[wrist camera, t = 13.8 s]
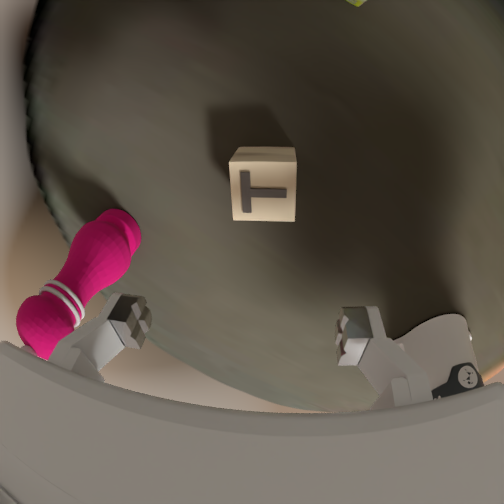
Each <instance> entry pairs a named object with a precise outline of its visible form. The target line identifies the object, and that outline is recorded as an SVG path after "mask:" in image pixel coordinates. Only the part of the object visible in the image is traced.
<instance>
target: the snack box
mask: <svg viewBox="0 0 504 504" xmlns="http://www.w3.org/2000/svg"><path fill="white" fill-rule="evenodd" d="M345 1H347V2H349V3H351V4H353V5H355V6H357V7H358V6H361V5H362V4H363V3H365V2H366V1H367V0H345Z"/></svg>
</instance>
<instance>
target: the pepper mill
mask: <svg viewBox="0 0 504 504" xmlns="http://www.w3.org/2000/svg"><path fill="white" fill-rule="evenodd" d="M140 243H141V233H140V229H139V226H138V225H137V223H136V221H135V220H134V219H133V218H132V217H131V216H130V215H129V214H128V213H126V212H125V211H122V210H119V209H109V210H106V211H104V212H103V213H102V214H101V215H100V216H99V217H98V218H97V219H96V220H95V221H91V222H88V223H86V224H85V225H84V226H83V227H82V228H81V229H80V230H79V231H78V233H77V234H76V236H75V238H74V240H73V242H72V244H71V248H70V251H69V255H68V258H67V261H66V262H65V264H64V266H63V268H62V270H61V271H60V272H59V274H58V275H57V276H56V277H55V278H54V279H53V280H48V281H46V282H45V284H44V286H43V287H42V288H41V289H40V290H39V295H38V296H37V295H36V296H31V297H29V298H27V299H26V300H25V301H24V302H23V303H22V305H21V307H20V308H19V310H18V314H17V318H16V326H17V330H18V333H19V336H20V338H21V340H22V341H23V342H24V344H25V346H23V347H21V349H23V350H25V351H27V352H29V353H31V354H33V355H35V356H39V357H41V358H43V359H46V360H48V359H49V357H50V355H51V354H52V352H53V350H54V348H55V347H56V345H57V343H58V342H59V341H60V340H61V339H63V338H64V337H66V336H67V335H69V334H70V333H72V332H73V331H74V327H77V326H78V325H79V324H80V320H81V319H83V318H84V315H85V310H84V308H85V306H86V304H87V302H88V301H89V300H90V299H91V298H92V296H93V295H95V294H96V293H97V292H98V291H100V290H101V289H103V288H105V287H107V286H109V285H111V284H113V283H114V282H116V281H117V280H118V279H120V278H121V277H122V276H123V274H124V273H125V272H126V271H127V270H128V268H129V266H130V263H131V256H132V255H133V254H134V252H135V251H136V250H137V248H138V247H139V245H140Z"/></svg>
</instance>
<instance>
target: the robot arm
mask: <svg viewBox="0 0 504 504" xmlns="http://www.w3.org/2000/svg"><path fill="white" fill-rule="evenodd" d="M146 303H147V302H146V300H145V297H143V296H137V295H130V294H122V293H113V294H112V295H111V296H110V298H109V300H108V301H107V303H106V304H105V306H104V308H103V309H102V311H101V312H100V314H99V316H98V317H97V318H96V317H95V318H93V319H91V320H90V321H89V322H87V323H85V324H84V325H82V326H81V327H79V328H78V329H76V330H75V331H73V332H72V333H70V334H69V335H67V336H66V337H64V338H63V339H61V340H60V341H59V342H58V343H57V345H56V347H55V348H54V350H53V352H52V354H51V355H50V357H49V359H48V361H46V360H44V359H42V358H40V357H37V356H35V355H33V354H31V353H29V352H27V351H25V350H23V349H21V348H19V347H17V346H15V345H13V344H12V343H10V342H8V341H1V342H0V504H504V384H502V383H500V382H496V383H492V384H489V385H486V386H484V384H483V381H482V378H481V375H480V374H479V373H478V366H477V362H476V358H475V354H474V350H473V347H472V343H471V340H472V336H471V333H470V332H469V331H468V327H467V321H466V319H465V318H464V317H463V316H461V315H458V314H446V315H442V316H438V317H435V318H433V319H430V320H428V321H426V322H424V323H422V324H420V325H419V326H417V327H416V328H414V329H413V330H411V331H410V332H409V333H407V334H406V335H404V336H403V337H400V338H398V339H396V340H392V339H391V338H387V337H386V333H385V330H384V326H383V322H382V319H381V315H380V312H379V309H378V307H377V306H365V307H364V306H361V307H341V308H340V311H339V319H338V320H337V322H336V326H335V343H336V344H337V345H338V348H337V351H336V353H337V363H338V365H358V367H359V369H360V370H361V371H362V373H363V374H364V375H365V377H366V378H367V380H368V381H369V382H370V384H371V385H372V386H373V388H374V389H375V390H376V392H377V393H378V394H379V397H378V399H377V400H376V401H375V402H374V404H373V405H372V406H371V407H370V410H366V411H354V412H339V413H312V414H311V413H301V414H300V413H269V412H254V411H242V410H232V409H224V408H216V407H209V406H202V405H196V404H190V403H184V402H179V401H174V400H169V399H164V398H159V397H155V396H151V395H147V394H143V393H139V392H135V391H131V390H128V389H124V388H121V387H117V386H114V385H111V384H107V383H104V378H103V377H102V376H101V374H100V373H99V372H98V371H99V370H100V369H101V368H102V367H104V366H105V365H106V364H107V363H108V362H109V361H110V360H111V359H112V358H114V357H115V356H116V355H117V354H118V353H119V352H120V351H121V350H122V349H124V348H125V347H131V348H136V349H141V347H142V345H143V342H144V340H145V338H146V337H145V334H144V333H145V332H147V331H148V330H149V329H150V326H151V322H152V315H151V312H150V309H148V308H147V307H146V306H145V305H146ZM124 346H125V347H124Z"/></svg>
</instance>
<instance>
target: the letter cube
mask: <svg viewBox="0 0 504 504" xmlns="http://www.w3.org/2000/svg"><path fill="white" fill-rule="evenodd" d="M229 170H230V184H231V198H232V211H233V220H248V221H287V222H295V202H296V173H297V160H296V154H295V148H294V147H239V148H238V149H237V151H236V152H235V154H234V155H233V156H232V158H231V159H230V161H229Z"/></svg>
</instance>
